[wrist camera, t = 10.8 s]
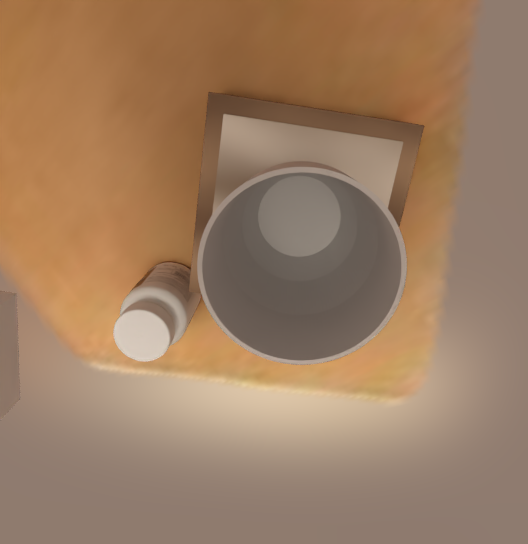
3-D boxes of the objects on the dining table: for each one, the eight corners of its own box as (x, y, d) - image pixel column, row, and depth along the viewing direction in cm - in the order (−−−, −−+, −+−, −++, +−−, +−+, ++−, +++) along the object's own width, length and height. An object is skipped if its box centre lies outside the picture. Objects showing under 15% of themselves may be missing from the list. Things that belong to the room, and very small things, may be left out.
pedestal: (220, 93, 31) (207, 91, 26) (406, 122, 31) (426, 125, 26) (202, 268, 35) (187, 293, 30) (365, 294, 35) (376, 324, 30)
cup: (255, 296, 30) (236, 384, 21) (210, 170, 28) (165, 205, 18) (383, 259, 29) (426, 336, 19) (348, 124, 26) (378, 136, 17)
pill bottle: (141, 259, 35) (101, 300, 28) (201, 261, 35) (176, 303, 27) (145, 314, 36) (107, 367, 29) (202, 317, 36) (179, 371, 29)
